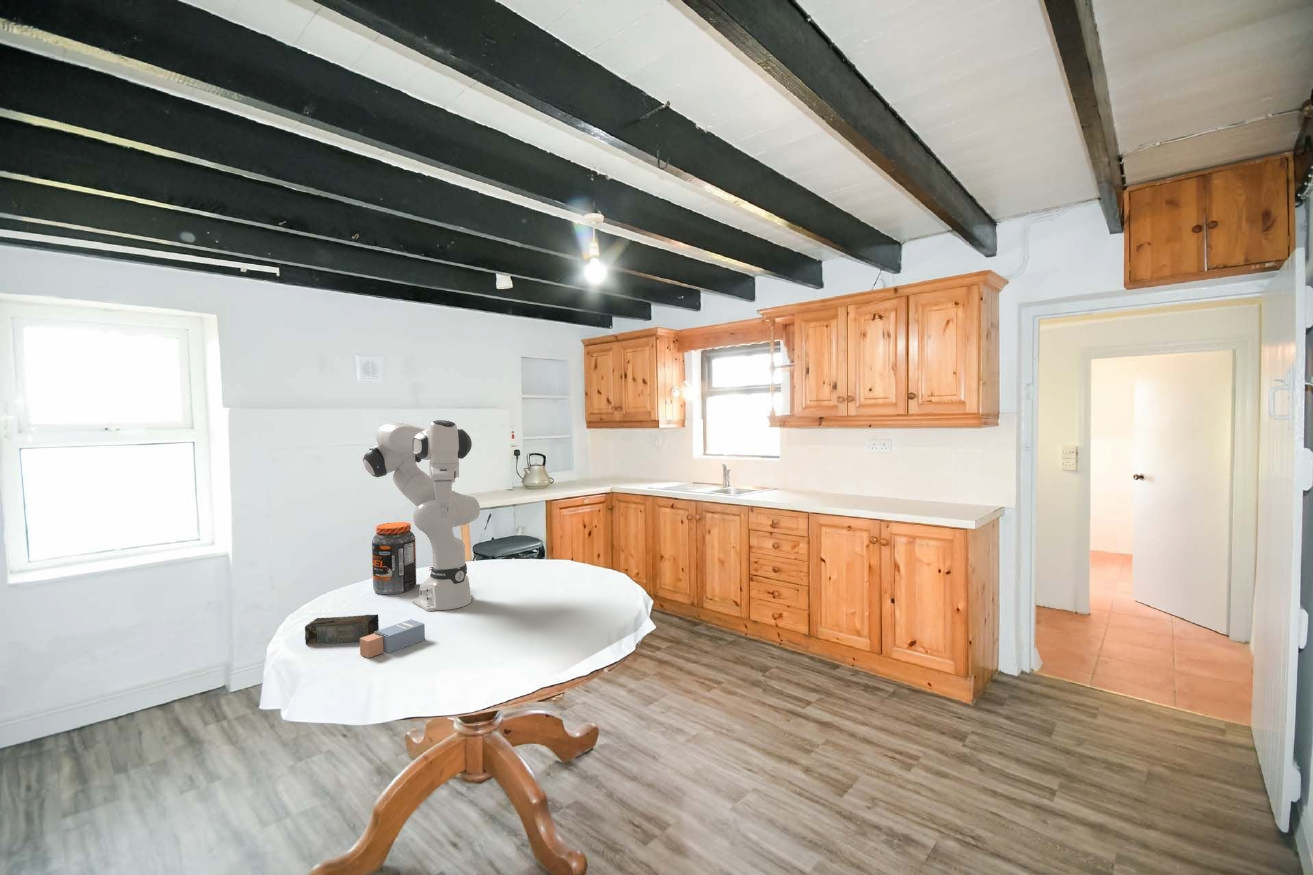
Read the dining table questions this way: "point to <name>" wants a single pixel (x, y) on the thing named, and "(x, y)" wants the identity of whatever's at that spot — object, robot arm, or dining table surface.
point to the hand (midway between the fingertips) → (444, 515)
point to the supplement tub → (393, 558)
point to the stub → (371, 645)
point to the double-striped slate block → (402, 635)
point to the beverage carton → (340, 629)
